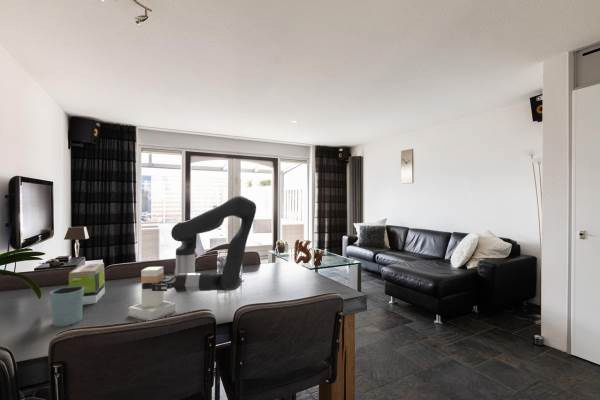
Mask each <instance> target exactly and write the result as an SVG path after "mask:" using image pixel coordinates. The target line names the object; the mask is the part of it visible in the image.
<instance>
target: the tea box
mask: <svg viewBox="0 0 600 400" xmlns="http://www.w3.org/2000/svg"><path fill="white" fill-rule="evenodd" d="M105 281H106V280H105V264H104V262H103V263H95V264H93V263H91V264H80V265H79V266H77V267H75V268H74V269H73V270H71V271H70V272H68V287H70V286H83V287H84V295H83V306H84V305H85V306H86V305H91V304H92V305H93V304H97V302H98V301H100V299H101V298H102V296H103V295H105V293H106V287H105Z"/></svg>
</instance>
